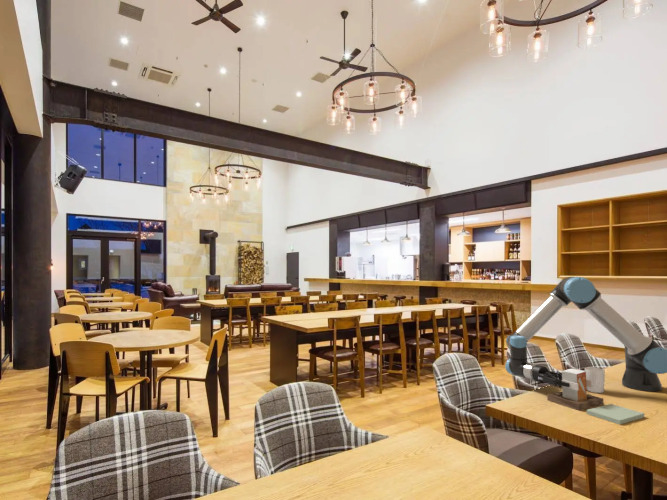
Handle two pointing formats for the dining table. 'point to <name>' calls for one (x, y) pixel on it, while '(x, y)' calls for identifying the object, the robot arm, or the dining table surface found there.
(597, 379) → the white cup
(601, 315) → the robot arm
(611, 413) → the board
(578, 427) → the dining table surface
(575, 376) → the small box
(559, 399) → the walnut holder
